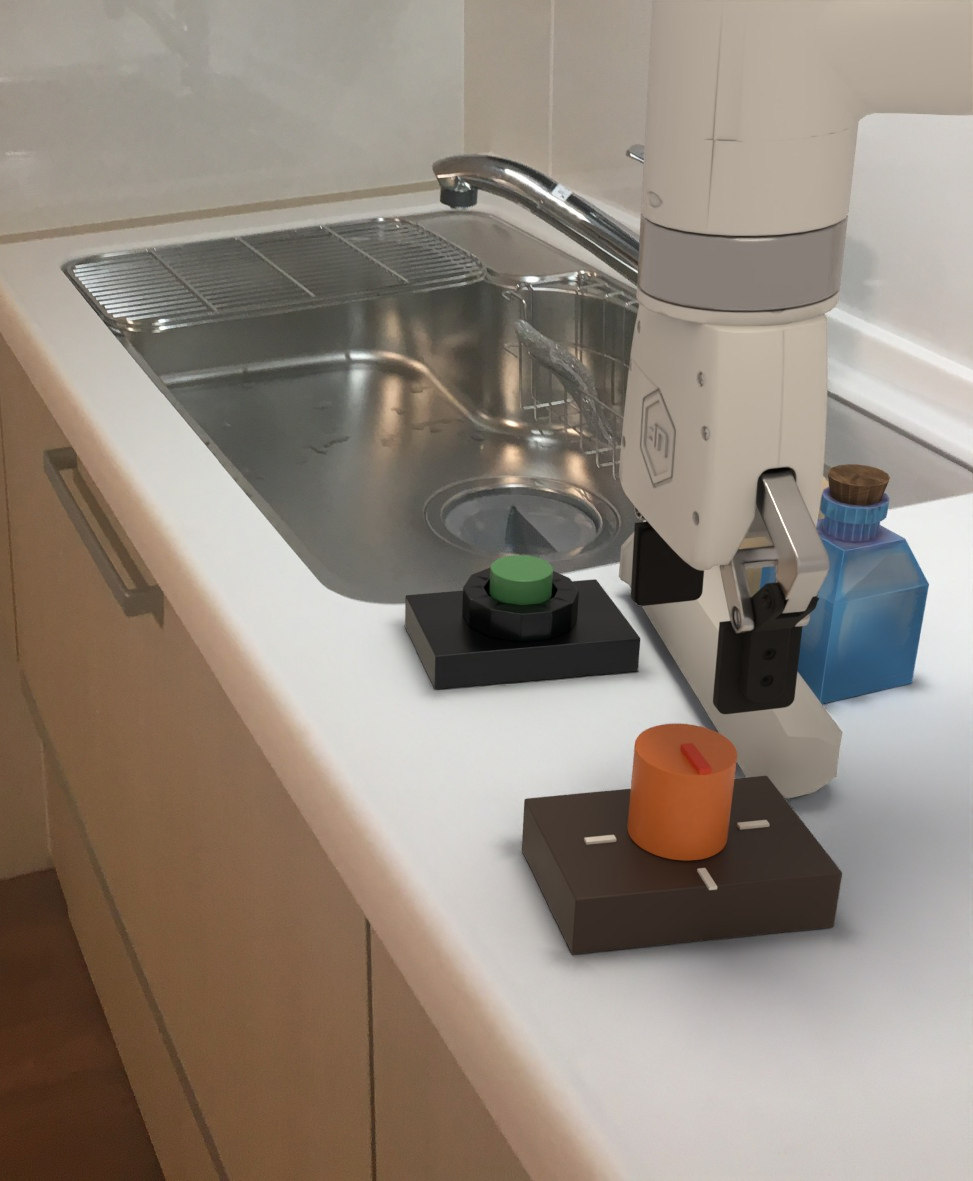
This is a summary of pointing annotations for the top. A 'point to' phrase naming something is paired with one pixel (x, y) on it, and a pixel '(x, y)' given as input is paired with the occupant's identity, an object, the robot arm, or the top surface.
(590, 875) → the dial block
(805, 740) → the tube
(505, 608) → the button housing
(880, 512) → the perfume bottle
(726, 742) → the dial knob
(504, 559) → the button
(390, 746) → the top surface
